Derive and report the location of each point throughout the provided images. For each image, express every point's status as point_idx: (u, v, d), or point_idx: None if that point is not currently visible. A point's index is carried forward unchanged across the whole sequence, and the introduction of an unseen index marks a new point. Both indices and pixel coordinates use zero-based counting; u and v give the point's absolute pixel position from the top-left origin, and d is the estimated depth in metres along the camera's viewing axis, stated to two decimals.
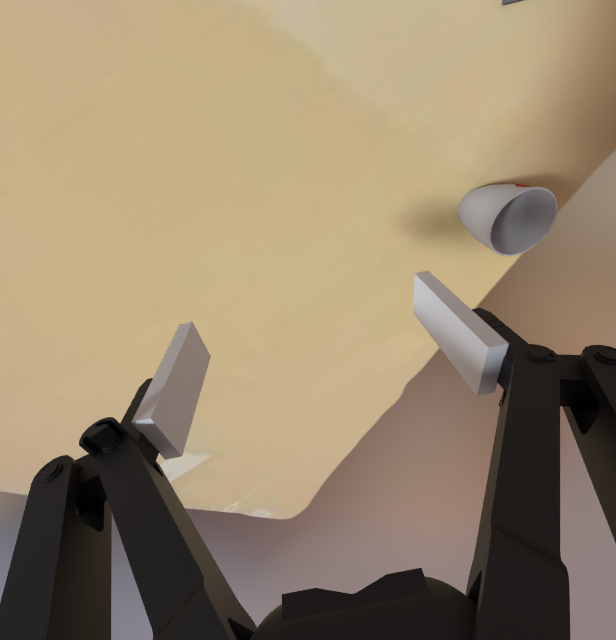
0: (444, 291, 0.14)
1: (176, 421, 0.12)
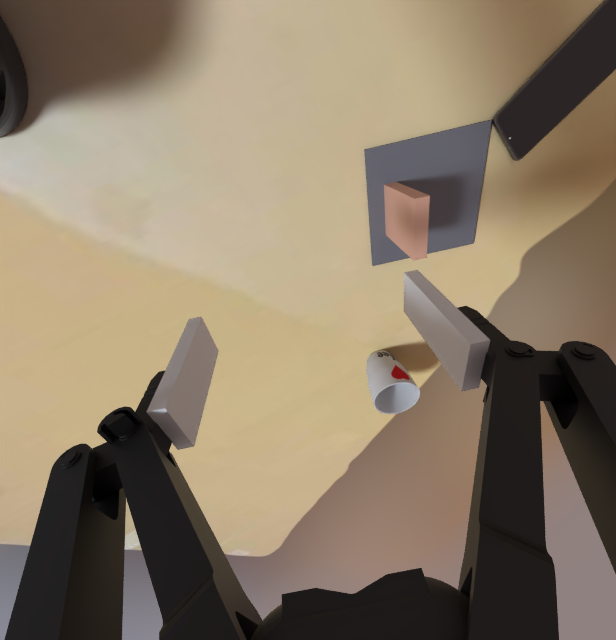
0: (432, 290, 0.14)
1: (188, 412, 0.12)
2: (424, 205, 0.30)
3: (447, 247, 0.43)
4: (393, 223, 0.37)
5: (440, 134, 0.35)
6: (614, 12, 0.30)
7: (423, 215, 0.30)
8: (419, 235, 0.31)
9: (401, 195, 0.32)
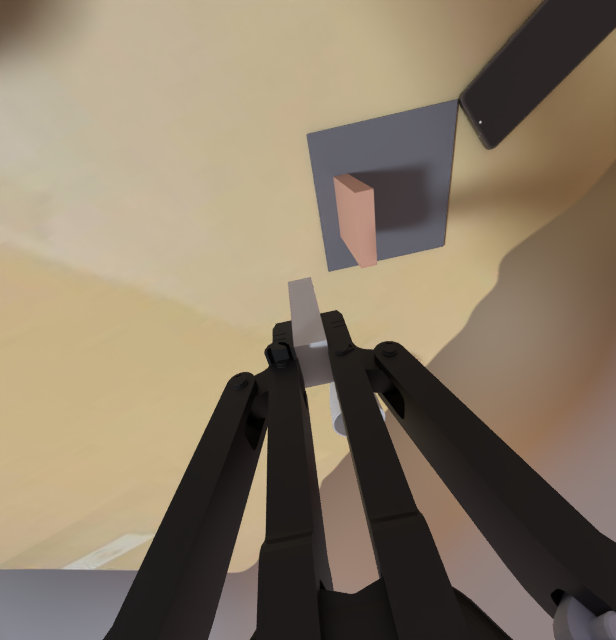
0: (310, 295, 0.16)
1: None
2: (367, 201, 0.24)
3: (413, 250, 0.38)
4: (343, 223, 0.31)
5: (396, 116, 0.29)
6: None
7: (367, 213, 0.24)
8: (366, 238, 0.26)
9: (345, 188, 0.27)
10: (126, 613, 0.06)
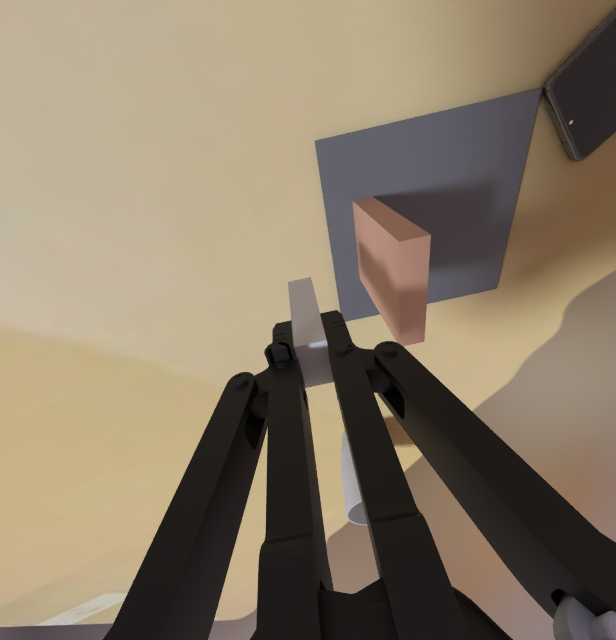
0: (310, 295, 0.16)
1: None
2: (419, 253, 0.14)
3: (456, 294, 0.28)
4: (367, 267, 0.22)
5: (449, 114, 0.19)
6: None
7: (417, 272, 0.15)
8: (411, 307, 0.16)
9: (376, 226, 0.17)
10: (126, 613, 0.06)
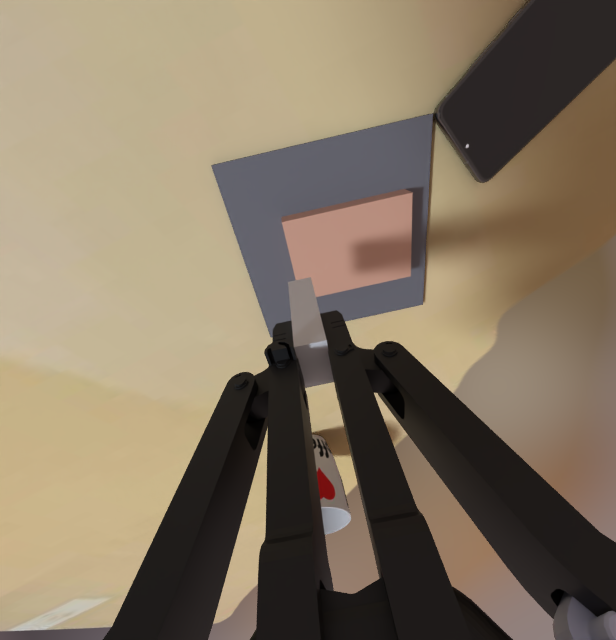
0: (310, 295, 0.16)
1: None
2: None
3: (383, 310, 0.28)
4: (332, 266, 0.23)
5: (343, 139, 0.20)
6: None
7: None
8: None
9: (363, 207, 0.21)
10: (126, 613, 0.06)
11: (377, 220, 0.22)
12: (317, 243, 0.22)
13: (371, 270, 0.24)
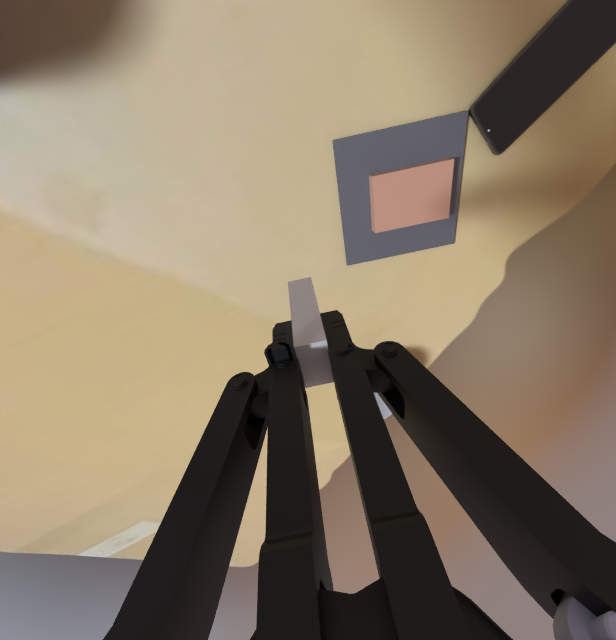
0: (310, 295, 0.16)
1: None
2: None
3: (426, 247, 0.41)
4: (399, 208, 0.36)
5: (413, 125, 0.33)
6: None
7: None
8: None
9: (423, 168, 0.34)
10: (126, 613, 0.06)
11: (431, 177, 0.34)
12: (392, 191, 0.35)
13: (423, 212, 0.37)
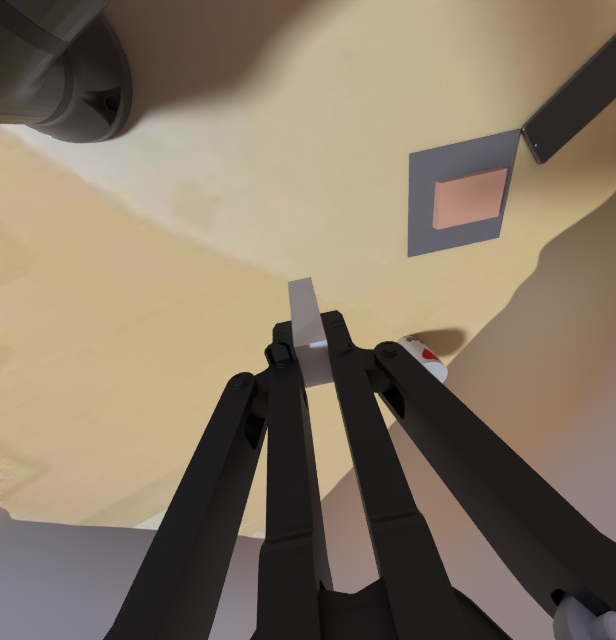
0: (310, 295, 0.16)
1: None
2: None
3: (475, 241, 0.49)
4: (459, 209, 0.44)
5: (476, 141, 0.40)
6: None
7: None
8: None
9: (481, 176, 0.41)
10: (126, 613, 0.06)
11: (487, 183, 0.42)
12: (454, 195, 0.42)
13: (478, 212, 0.44)
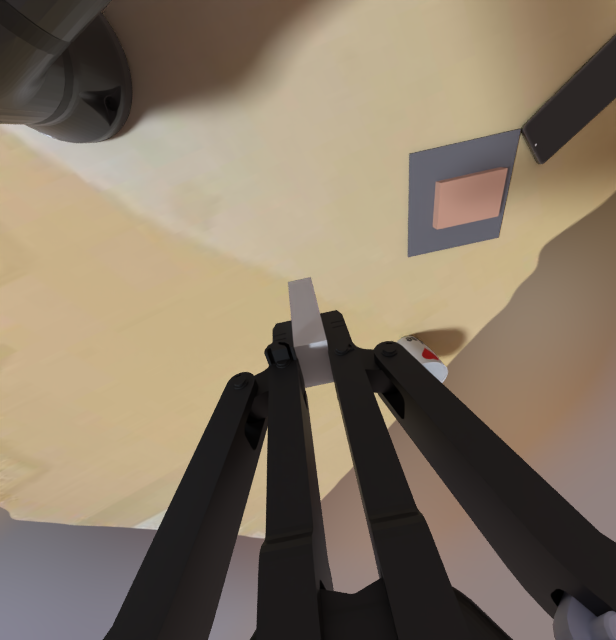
0: (310, 295, 0.16)
1: None
2: None
3: (475, 241, 0.49)
4: (459, 208, 0.44)
5: (476, 141, 0.40)
6: None
7: None
8: None
9: (481, 176, 0.41)
10: (126, 613, 0.06)
11: (487, 183, 0.42)
12: (454, 195, 0.42)
13: (478, 212, 0.44)
